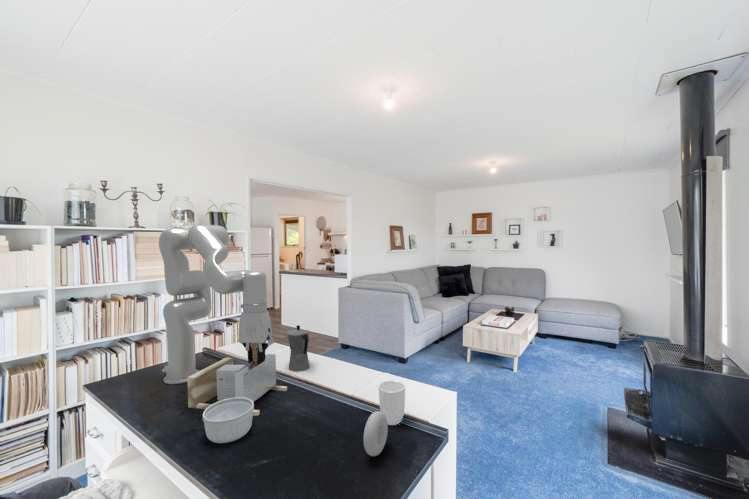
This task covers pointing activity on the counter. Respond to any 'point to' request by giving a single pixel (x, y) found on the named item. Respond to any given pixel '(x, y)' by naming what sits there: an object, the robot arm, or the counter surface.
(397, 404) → the white cup
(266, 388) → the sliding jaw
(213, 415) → the ramekin
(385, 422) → the light grey round disc
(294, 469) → the counter surface
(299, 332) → the coffeepot
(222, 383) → the small box
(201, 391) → the frame
